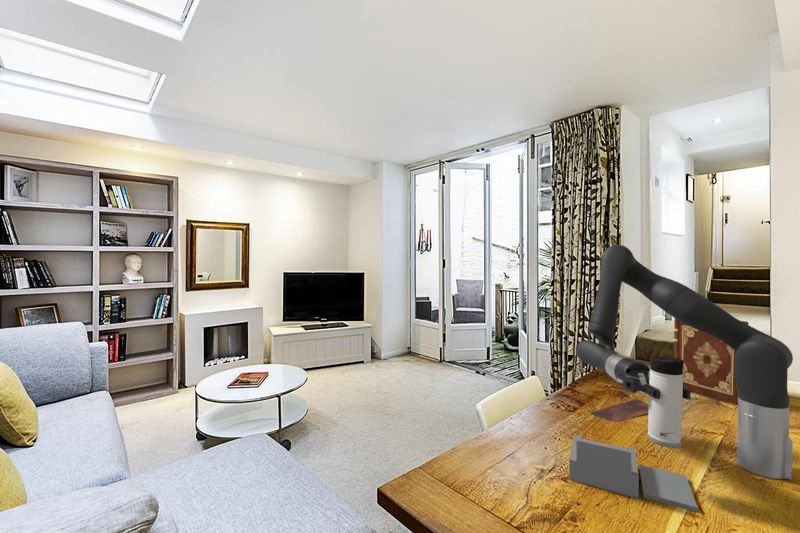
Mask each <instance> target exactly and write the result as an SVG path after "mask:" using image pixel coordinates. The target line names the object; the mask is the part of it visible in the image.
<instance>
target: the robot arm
mask: <svg viewBox="0 0 800 533" xmlns="http://www.w3.org/2000/svg"><path fill="white" fill-rule="evenodd" d="M599 275H600V276H599V283H598V287H597V288H598V289H597V292H596V298H595V301H594V306H593V309H592V314H591V317H590V321H589V324H588V332H589V333H590V334H592V335H594V336H595V337H596V338H597V340H598V343H597V342H595V341H593V340H587V339H586V340H582V341H580V342H579V343H578V344H577V346H576V350H575V353H576V356H577V358H578V360H580V361H581V362H583V363H585V364H587V365H589V366H591V367H594V368H595V369H596V368H597V369H598V370H599V371H602V372H603V373H605V374H607V375H608V376H610V377H611V378H612V379H613V380H615V381H616V385H618V386H620V387H622V388H624V389H625V390H627V391H630V392H631V393H634V394H635V393H638V392H639V393H640V394H644V395H645V394H646V395H648V397H649V396H651V397H653V398H655V399H660V390H659V389H657V388H655V387H653V386H651V385H650V384H649V380H650V366H648V365H647V364H646V363H644V362H642V361H640V360H638V359H636V358H633V357H631V356H629V355H625V354H622V353H620V352H619V351H615V345H614V344H615V343H614V342H615V341H614V331H615V327H616V324H617V319H618V314H619V305H620V303H619V302H620V295H621V287H622V285H623V284H622V283H624V284H626V285H627V286H630V287H631V288H633V289H635V291H638V292H639V293H641V295H643V296H644V297H645V298H647V299H648V300H649V301H650V302H652V303H653V304H655V305H656V306H657V307H658V308H659V309H661V310H662V311H664V312H665V313H667V314H669V316H671V317H672V318H673V317H674V318H676V319H677V320H679V321H680V322H682V323H684V324H686V325H688V326H690V327H692V328H695V329H697V330H699V331H702V332H704V333H706V334H709V335H711V336H713V337H715V338H717V339H719V340H720V341H722V342H723V343H725V344H726V345H728V346H729V347H730V348H732V349H733V350H735V351H736V360H735V368H736V387H737V390H738V400H737V403H738V405H737V418H736V419H737V424H736V425H737V428H736V429H737V431H736V432H737V433H736V434H737V435H736V463H737V464H738V466H740V467H741V468H743V469H744V470H746V471H748V472H750V473H752V474H755V475H758V476H761V477H764V478H769V479H774V480H776V479H777V480H783V479H785V480H790V481H791V480H792V479H793V446H794V445H793V440H792V439H791V438H790V403H791V401H790V395H789V392H788V372H789V371H788V369H789V368H790V367H791V366H792V364H793V362H794V361H793V359H794V357H793V354H792V351H791V350H790V348H789V347H788V346H787V344H785V343H783V342H782V341H781V340H779V339H777V338H775V337H774V336H772V335H769V334H766V333H765V332H763V331H761V330H759V329H757V328H754V327H753V326H751V325H749V324H748V325H747V324H745V323H743V322H741V321H742V320H740V319H738V318H736V317H735V316H733V315H732V314H730V313H728V312H727V311H726V310H724V309H723V308H722V307H720V306H718V305H717V304H716V303H714V302H712V301H711V300H709V299H708V298H706V297H705V296H703V295H702V294H700V293H698V292H696V291H695V290H693V289H692V288H690V287H688V286H687V285H685V284H683V283H680V282H679V281H676V280H674V279H671V278H668V277H665V276H662V275H660V274H658V273H656V272H654V271H652V270H650V269H649V268H647V267H646V266H645V265H643V264H642V263H641V262H639V260H637V259H636V258H635V256H634V254H633V252H632V251H631V250H630V249H629V248H628V247H627V246H625V245H623V244H622V245H621V244H615V245H610V246H609V247H607V248H606V249H604V251H603V252H602V255H601V259H600V274H599ZM674 318H673V319H674ZM691 393H692V392H691V391H690V390H689V389H687V388H685V382H684V381H683V396H682V399H685V400H691V398H692V397H691V396H692V394H691Z"/></svg>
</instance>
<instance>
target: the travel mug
mask: <svg viewBox="0 0 800 533" xmlns="http://www.w3.org/2000/svg"><path fill="white" fill-rule="evenodd" d="M649 360H650V362H649V364H650V365H649V368H650V380H649V384H650V385H651V386H653V387H655V388H657V389H659V390H660V399H655V398H653V397H651V396H649V395H648V405H649V413H648V414H647V415H648V421H647V422H648V423H647V424H648V425H647V438H648V440H650V442H652V443H653V444H655V445H657V446H661V447H664V448H670V449H676V448H680V447H681V446H682V421H683V418H682V417H683V397H682V396H683V364H684V361H683V360H681V359H677V358H674V357H669V356H667V357H666V356H658V357H654V358H653V357H650V359H649Z"/></svg>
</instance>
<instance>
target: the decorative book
mask: <svg viewBox="0 0 800 533" xmlns="http://www.w3.org/2000/svg"><path fill="white" fill-rule="evenodd" d="M672 318H673V319H674V322H673V323H674V324H673V326H674V327H673V328H672V329H673V331H674V333H673V334H674V336H673V338H672V341H673V358H677V359H681V360H683V361H684V364H683V381H684V382H685V388H687V389H689V390H690V391H691V393H693V394H696V395H701V396H703V397H707V398H711V399H714V400H717V401H721V402H724V403H728V404H732V405H734V406H735V405H736V406H738V390H737V387H736V368H735V360H736V351H735V350H733V349H732V348H730V347H729V346H728V345H726V344H725V343H723V342H722V341H720V340H719V339H717V338H715V337H713V336H711V335H709V334H706V333H704V332H702V331H699V330H697V329H695V328H692V327H690V326H688V325H686V324H684V323H682V322H680V321H679V320H677V319H676V318H674V317H673V316H672ZM740 321H741V322H743V323H745V324H747V325H749V321H746V320H745V321H744V320H740Z"/></svg>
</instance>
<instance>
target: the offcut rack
mask: <svg viewBox="0 0 800 533" xmlns="http://www.w3.org/2000/svg"><path fill="white" fill-rule="evenodd" d="M638 470H639V467H638V462H637V454H636V449H635V447H631V446H627V448H625V447H620V446H616V445H611V444H607V443H602V442H598V441H593V440H589V439H585V438H581V436H580V435H577V434H574V435H573V438H572V445H571V449H570V456H569V472H568V474H569V478H568V479H569V481H572V482H576V483H579V484H580V483H581V484H583V485H586V486H591V487H595V488H599V489H602V490H605V491H609V492H613V493H617V494H619V495H620V494H621V495H624V496H627V497H631V498H635V499H637V500H638V499H639V498H640V497H639V494H640V493H639V492H640V491H639V489H640V488H639V487H640V486H639V484H640V483H639V482H640V481H639V480H640V478H639V477H640V474H639V471H638Z"/></svg>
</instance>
